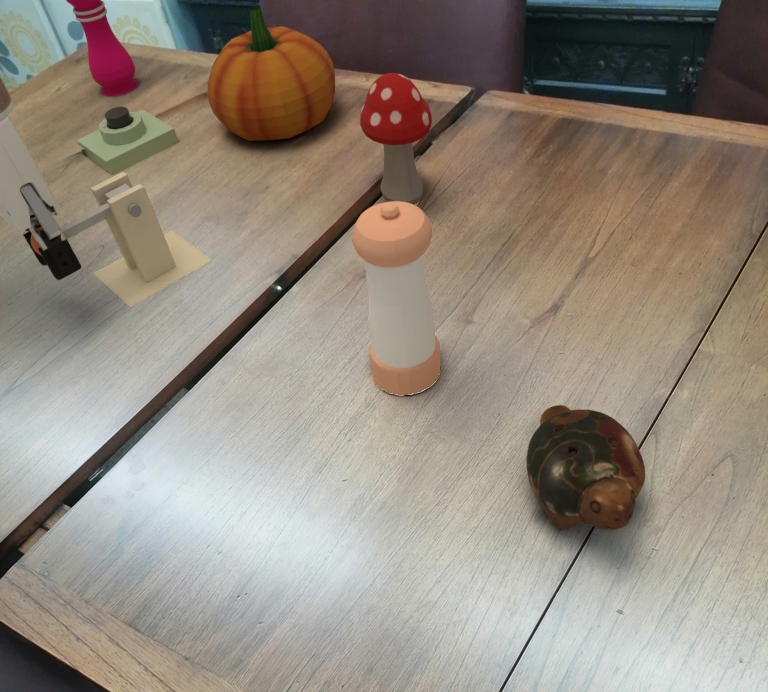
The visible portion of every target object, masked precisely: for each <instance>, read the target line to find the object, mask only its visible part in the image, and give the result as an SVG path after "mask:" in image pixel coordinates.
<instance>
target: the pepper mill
mask: <svg viewBox="0 0 768 692" xmlns="http://www.w3.org/2000/svg"><path fill="white" fill-rule="evenodd" d="M65 1H66V2H67V3H68V4H69V5H71V6H72V7H73V8H72V12H73V14H74V16H75V20H76V21H77V22H80V23H79V24H80V25H81V27H82V29H83V32H84V35H85V38H86V44H87V58H88V61H87V62H88V67H89V71H90V74H91V77H92V79H93V81H94V82H95V83H97V84H98V85H99V86H101V87H102V88H101V93H102V95H104V96H107V97H119V96H123V95H126V94H128V93H130V92H132V91H133V90H135V89H136V88H137V87H138V84H139V82H138V80H137V79H135V78H134V77H135V73H136V66H135V62H134V61H133V58H132V57H131V55H130V54H129V52H128V51H127V49H126V48H125V47H124V45H123V44H122V43H121V42H120V40H119V39H118V38H117V36H116V35H115V33H114V32H113V29H112V28H111V27H112V26H111V25H110V23H109V20H108V16H107V13H108V9H107V8H106V6H105V5H106V4H105V2H104V1H103V0H65Z"/></svg>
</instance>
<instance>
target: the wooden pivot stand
mask: <svg viewBox="0 0 768 692" xmlns="http://www.w3.org/2000/svg"><path fill="white" fill-rule="evenodd" d="M124 184H126V185H128V186H129V187H130V189H128V190H126V191H124V192H122V193H120V194H119V195H117V196H115V197H113V198H111V199H109V200H107V199H106V197H105V194H106V193H108V192H110V191H112V190H114V189H116V188H118V187H120V186H122V185H124ZM90 190H91V192H92V194H93V197H94V198H95V201H96V203H97V205H98V207H100V206H102V205H104V204H106V203H108V205H109V207H110V209H111V211H112V213H113V215H112V216H110V217H108V218H106V219H104V220H105V221H106V224H107V226H108V228H109V230H110V232H111V234H112V237H113V238H114V240H115V243H116V244H117V247H118V249H119V251H120V254H121V255H122V257H119V259H116V260H115V261H112V262H111V263H109V264H107V265H105V266H104V267H102V268H100V269H98V270H96V271H95V272H93V274H92V275H94V277H96V278H97V279H98V280H99V281H101V283H102V284H103V285H105V286H106V287H107V288H108V289H109V290H111V292H112V293H114V294H115V295H116V296H117V297H118V298H119V299H120V300H121V301H122V302H124V303H125V304H126V305H127V306H128V307H129V308H132V307H134V306H136V305H137V304H140V303H141V302H142V301H144V300H146V299H148V298H150V297H151V296H153V295H155V294H157V293H159V292H160V291H162V290H164V289H166V288H167V287H169V286H171V285H172V284H174V283H176V282H178V281H179V280H181V279H183V278H184V277H187V276H188V275H190V274H191V273H194V272H195V271H197V270H198V269H201V268H202V267H204V266H206V265H207V264H209V263H211V262H213V260H212V258H210V257H208V256H207V255H206V254H204V253H203V252H202V251H200V250H199V249H198V248H196V247H195V246H194V245H193V244H192V243H190V242H189V241H187V240H186V239H185V238H183V237H182V236H181V235H179V234H178V233H177V232H175V231H174V230H170V231H168V232H166V233H165V234H164V231H163V229H162V227H161V225H160V223H159V219H158V217H157V214H156V212H155V210H154V207H153V204H152V203H151V200H150V198H149V195H148V193H147V190H146V188H145V186H144V185H143V184H141V183H138V184H136V185H134V186H133V185H132V182H131V179H130V177H129V174H128V173H126V172H125V171H122V172H120V173H117V174H116V175H114V176H112V177H110V178H108V179H106V180H103V181H102V182H100V183H98V184H96V185H93V186H92V187H90Z"/></svg>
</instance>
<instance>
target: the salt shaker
mask: <svg viewBox="0 0 768 692" xmlns="http://www.w3.org/2000/svg"><path fill="white" fill-rule="evenodd" d="M352 230H353V231H352V238H351V242H352V245H353V247H354V249H355V251H356V253H357V254H358V256H359V257H360V258H361V259H362V260H363V262H364V267H365V274H366V282H367V289H368V307H367V308H368V309H367V310H368V311H367V328H368V329H367V330H368V335H369V339H370V345H369V354H368V355H369V361H370V367H371V373H372V378H373V381H374V384H375V383H376V384H377V385H378V386H379V387H380V388H381V389H383V390H384V391H387V392H388V393H393V394H398V395H408V394H412V393H414V394H415V393H417V392H421V391H422V390H424V389H426V388H428V387H430V386H431V385H432V384H433V383H434V382H435V381H436V380H437V379H438V380H439V378H440V376H439V374H440V375H441V371H440V366H441V365H442V364H441V352H440V351H441V349H440V346H441V345H440V342H439V340H438V337H437V335H436V321H435V320H436V315H435V311H434V307H433V302H432V299H431V294H430V291H429V287H428V281H427V269H426V255H425V253H426V251H427V250H428V248H429V246H430V244H431V241H432V238H433V227H432V224H431V221H430V219H429V218H428V216H427V214H426V213H425V212H424V211H423V210H422V209H421V208H420V207H418V205H417V206H416V205H413V204H410V203H408V202H400V201H392V202H386V201H385V202H381V203H377V204H375V205H373V206H370V207H368V208H367V209H366V210H364V211H363V212H362V213H361V214H360V216H358V219H357V220H356V222H355V223H354V226H353V229H352ZM441 367H442V366H441ZM438 377H439V378H438ZM376 384H375V385H376ZM377 385H376V386H377ZM378 386H377V387H378ZM379 387H378V388H379ZM380 388H379V389H380ZM381 389H380V390H381ZM384 391H383V392H384ZM388 393H387V394H388Z"/></svg>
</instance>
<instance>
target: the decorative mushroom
mask: <svg viewBox="0 0 768 692" xmlns="http://www.w3.org/2000/svg"><path fill="white" fill-rule="evenodd" d="M360 109H361V110H360V117H359V124H360V128H361V130H362V133H363V134H364V135H365V136H366V137H367V138H368V139H370V140H371V141H373V142H375V143H378V144H381V145H383V174H382V179H381V182H380V187H379V188H380V192H381V194H382V196H383V199H384V201H385V200H386V201H385V202H392V201H400V202H408V203H410V204H413V205H415V204H417V203H418V202H419V201H420V200H422V198H423V193H424V185H423V183H422V180H421V178H420V176H419V173H418V170H417V165H416V160H415V156H414V148H413V143H415V142H418V141H420V140H422V139H423V138H425V137H426V136H427V135H428V134H429V133H430V130H431V128H432V123H433V118H432V113H431V109H430V105H429V104H428V102H427V101H426V100H425V99H424V98H423V96H422V94H421V92H420V91H419V88H418V87H417V86H416V85H415V84H414V82H413V81H412V80H411V79H410V78H408V77H407V76H406V75H403V74H401V73H398V72H397V73H396V72H388V73H384V74H383V75H382V74H381V75H380V76H378V77H377V78H376V79H375V80H374V81H373V82H372V83H371V85H370V87H369V89H368V91H367V94H366V98H365V101H364V103H363V105H362V107H361V108H360ZM420 202H421V201H420Z"/></svg>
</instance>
